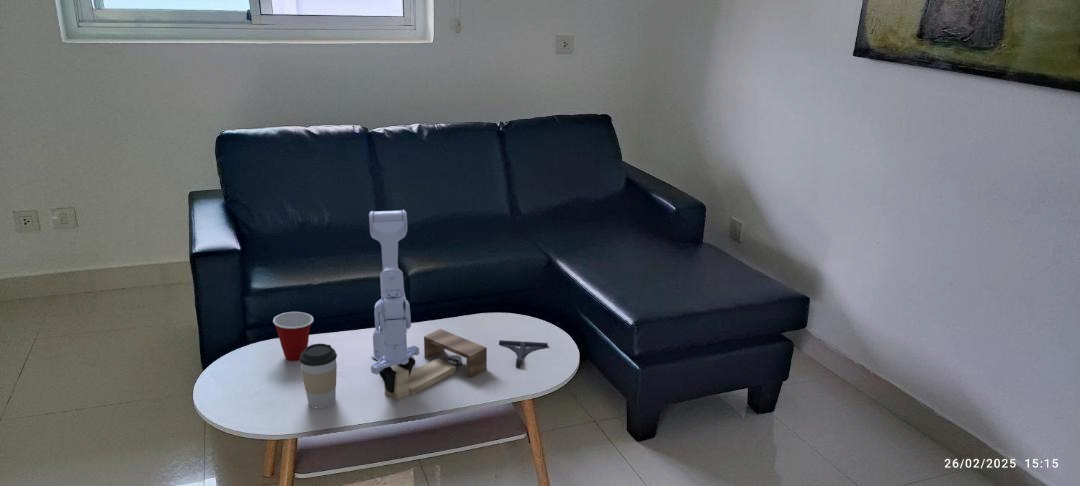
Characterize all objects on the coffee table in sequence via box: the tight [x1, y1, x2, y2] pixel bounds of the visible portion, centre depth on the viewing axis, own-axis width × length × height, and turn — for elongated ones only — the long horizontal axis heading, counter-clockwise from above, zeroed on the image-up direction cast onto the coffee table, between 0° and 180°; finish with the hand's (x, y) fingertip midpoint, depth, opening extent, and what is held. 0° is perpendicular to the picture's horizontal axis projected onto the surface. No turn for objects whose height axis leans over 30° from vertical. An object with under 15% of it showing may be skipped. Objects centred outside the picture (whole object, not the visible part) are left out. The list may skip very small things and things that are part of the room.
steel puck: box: [447, 354, 463, 368], centre depth 208 cm, size 4×4×2 cm
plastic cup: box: [272, 311, 314, 362], centre depth 208 cm, size 11×11×12 cm
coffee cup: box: [299, 343, 338, 409], centre depth 186 cm, size 9×9×15 cm
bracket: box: [498, 339, 549, 369], centre depth 214 cm, size 14×15×3 cm
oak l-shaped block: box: [384, 358, 456, 401], centre depth 198 cm, size 7×20×7 cm, turn 142°
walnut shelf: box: [423, 328, 488, 379], centre depth 208 cm, size 18×6×7 cm, turn 52°
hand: (397, 387), depth 192 cm, fingers closed on oak l-shaped block, 4 cm apart
